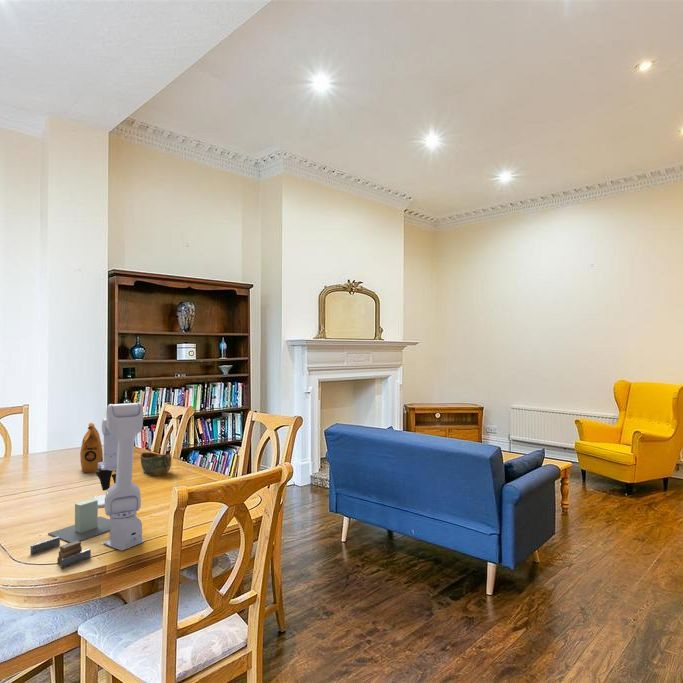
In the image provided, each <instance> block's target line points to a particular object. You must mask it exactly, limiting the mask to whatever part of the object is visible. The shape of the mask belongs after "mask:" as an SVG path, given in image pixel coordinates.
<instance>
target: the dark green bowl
mask: <svg viewBox="0 0 683 683" xmlns="http://www.w3.org/2000/svg"><path fill="white" fill-rule="evenodd" d="M140 464H141V468H142V470H143V473H144V474H146V475H148V476H151V477H162V476H166V475H168V473H169V471H170V469H171V468H172V467H171V466H172V455H171V453H170V452H169V453H166V454H161V453H155V452H147V451H146V452H142V453H141V454H140Z"/></svg>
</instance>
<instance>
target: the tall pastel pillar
mask: <svg viewBox="0 0 683 683" xmlns="http://www.w3.org/2000/svg"><path fill="white" fill-rule="evenodd" d="M98 511H99V508H98V500H95V499H94V498H91V499H87V500H84V501H79V502H76V503H75V504H74V525H75V531H76V532H79V533H82V532H85V531H88V530H91V529H94V528H96V527H98V517H99V515H98V513H99V512H98Z"/></svg>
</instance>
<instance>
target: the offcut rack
mask: <svg viewBox="0 0 683 683" xmlns="http://www.w3.org/2000/svg"><path fill="white" fill-rule="evenodd" d="M60 544H61V539H60V537H52V538H49V539H46V540H43V541H40V542H37V543H34V544H31V545H30V555H32V556H33V555H35V554H39V553H41V552H45V551H47V550H49V549H53V548H57V547H59V546H61V545H60ZM91 551H92V550H91V548H87V549H84V550H82V551H81V552H78V553H75V554H73V555H70V556H67V557H65V558H62V559H61V565H60V569H62V570H63V569H66V568H69V567H71V566H74V565H76V564H78V563H81V562H85V561H87V560H89V559H91Z"/></svg>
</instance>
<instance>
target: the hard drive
mask: <svg viewBox="0 0 683 683" xmlns="http://www.w3.org/2000/svg"><path fill="white" fill-rule="evenodd" d="M105 497H106V494H101V495H99V494H98V495H94V496H93V499H95V500H98V509H100V508H105Z"/></svg>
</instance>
